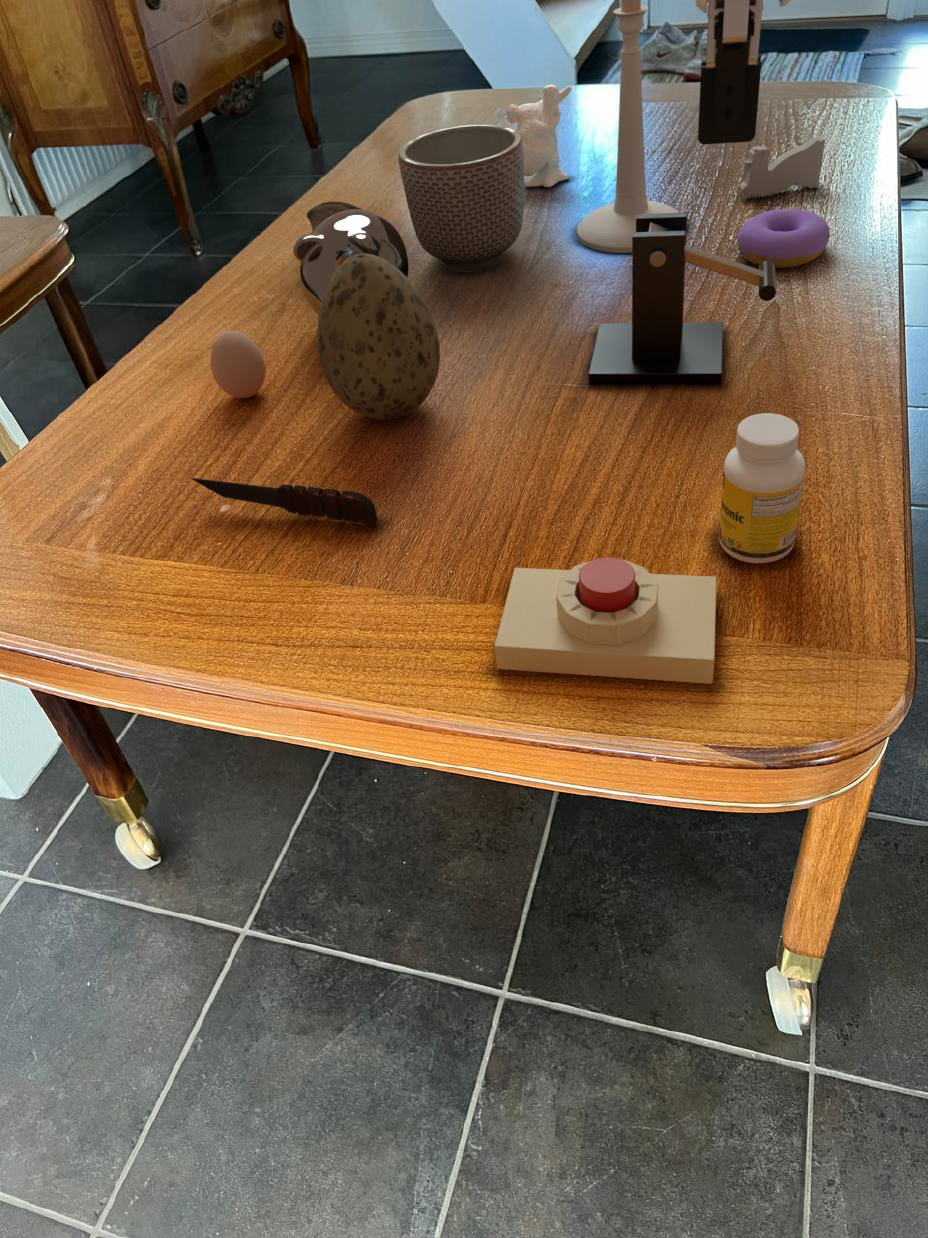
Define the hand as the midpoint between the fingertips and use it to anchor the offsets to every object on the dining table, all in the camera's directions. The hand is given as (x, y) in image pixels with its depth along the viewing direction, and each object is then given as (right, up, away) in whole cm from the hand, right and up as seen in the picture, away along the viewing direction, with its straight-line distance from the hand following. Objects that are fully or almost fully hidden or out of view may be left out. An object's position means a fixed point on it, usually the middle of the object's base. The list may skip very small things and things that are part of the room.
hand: (726, 137), depth 56 cm
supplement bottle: (+6, -23, +15) cm, 28 cm away
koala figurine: (-4, +31, +74) cm, 80 cm away
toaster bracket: (+3, -3, +36) cm, 36 cm away
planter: (-14, +15, +58) cm, 61 cm away
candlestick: (+5, +18, +59) cm, 62 cm away
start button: (-6, -26, +7) cm, 28 cm away
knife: (-30, -19, +24) cm, 43 cm away
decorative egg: (-22, -9, +34) cm, 42 cm away
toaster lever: (+6, +3, +29) cm, 30 cm away
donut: (+20, +12, +49) cm, 54 cm away
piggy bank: (-26, +4, +49) cm, 56 cm away
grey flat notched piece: (+23, +24, +62) cm, 70 cm away
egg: (-37, -6, +40) cm, 55 cm away
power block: (-5, -29, +10) cm, 31 cm away
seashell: (-30, +16, +62) cm, 71 cm away
